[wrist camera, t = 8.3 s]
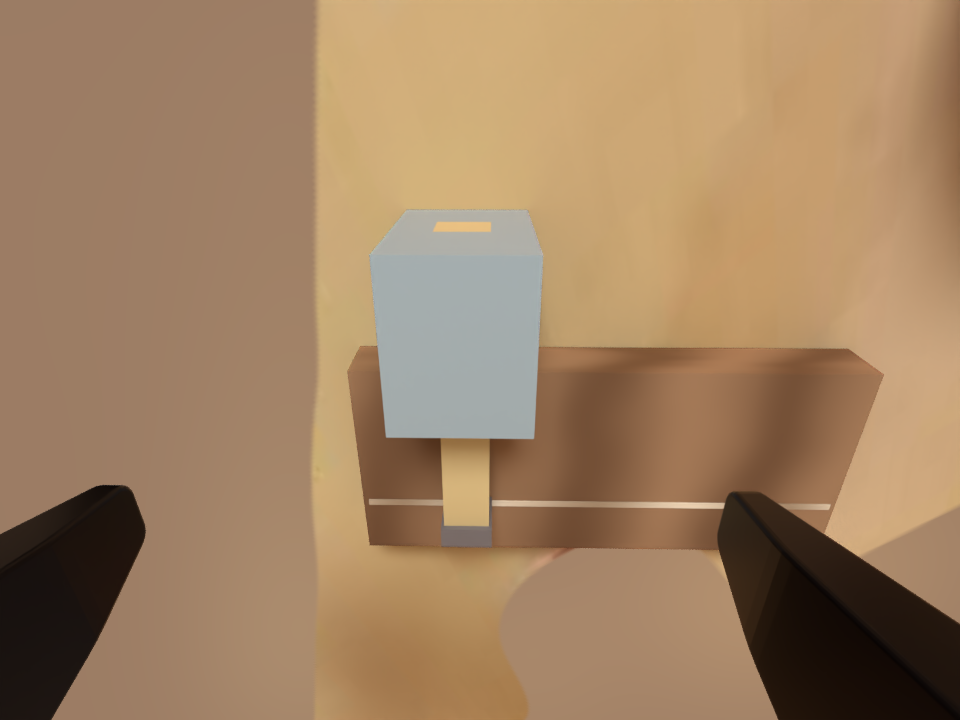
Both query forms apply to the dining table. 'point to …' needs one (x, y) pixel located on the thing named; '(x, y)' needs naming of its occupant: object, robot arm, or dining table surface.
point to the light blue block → (459, 345)
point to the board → (634, 446)
